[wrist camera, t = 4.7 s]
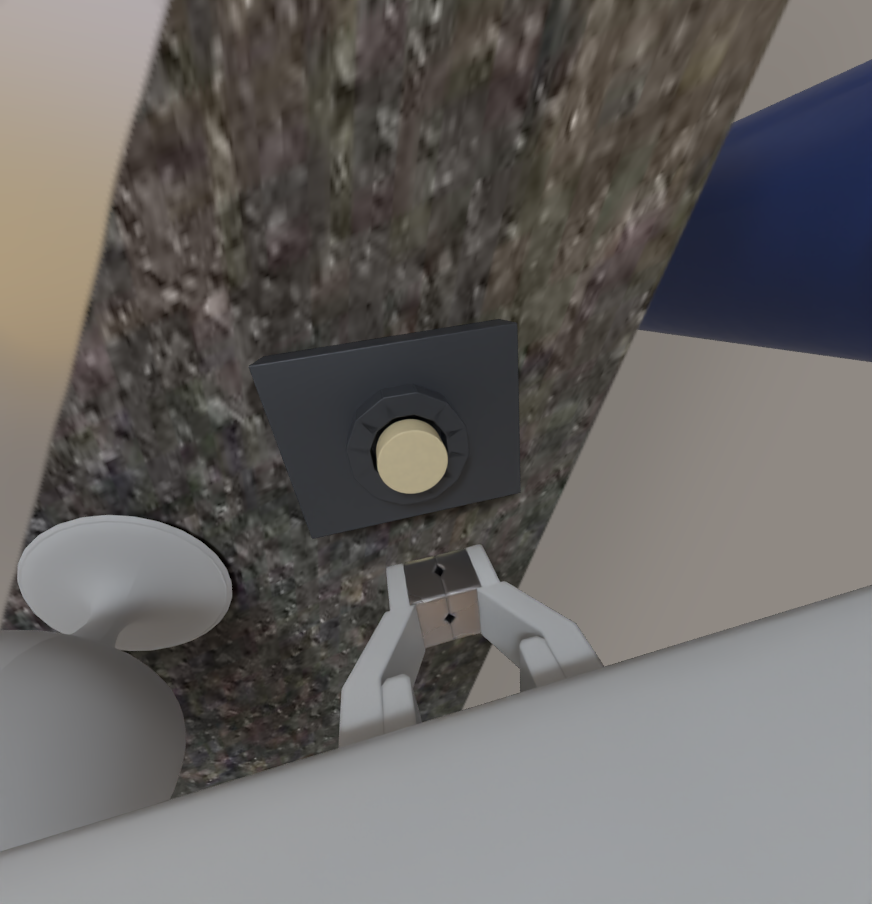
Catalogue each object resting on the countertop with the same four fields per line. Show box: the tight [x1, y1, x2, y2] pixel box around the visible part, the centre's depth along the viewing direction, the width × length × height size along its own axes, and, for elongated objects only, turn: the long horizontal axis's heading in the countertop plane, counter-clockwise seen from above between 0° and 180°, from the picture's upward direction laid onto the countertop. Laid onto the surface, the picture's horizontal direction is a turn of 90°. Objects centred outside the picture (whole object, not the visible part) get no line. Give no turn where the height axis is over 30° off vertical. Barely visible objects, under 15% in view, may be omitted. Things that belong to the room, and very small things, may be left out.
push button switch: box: [376, 419, 448, 494], centre depth 18 cm, size 4×4×2 cm
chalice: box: [0, 515, 232, 851], centre depth 17 cm, size 14×14×15 cm
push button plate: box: [249, 319, 520, 539], centre depth 20 cm, size 14×11×4 cm
